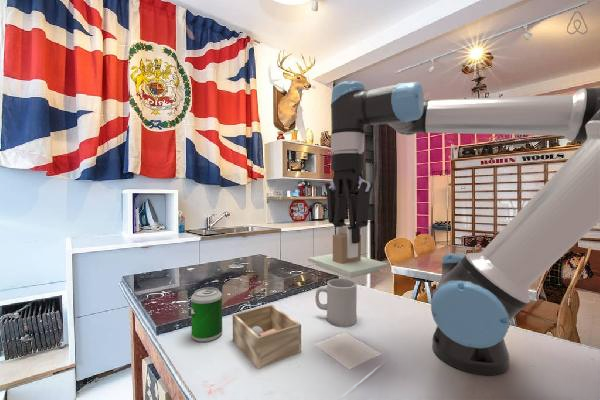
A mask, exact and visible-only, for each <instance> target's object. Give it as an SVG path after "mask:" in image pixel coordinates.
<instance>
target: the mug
mask: <svg viewBox="0 0 600 400" xmlns="http://www.w3.org/2000/svg"><path fill="white" fill-rule="evenodd" d="M357 285H358V284H357V282H356V281H355V280H352V279H348V278H333V279H329V280H328V281H327V283H326V286H325V285H324V286H323V285H321V286H319V287H318V288H317V289H316V291H315V305H316V306H317V308H318V309H320V310H323V311H326V320H327V322H328V323H329V324H330V325H333V326H335V327H341V328H344V327H345V328H348V327H352V326H353V325H355V324H356V323H357V320H358V319H357V315H358V314H357V297H358V296H357V293H358V292H357V291H358V290H357V289H358V288H357V287H358V286H357ZM320 293H326V296H327V297H326V302H327V303H321V302H320V298H319V297H320Z"/></svg>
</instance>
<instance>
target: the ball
mask: <svg viewBox="0 0 600 400" xmlns="http://www.w3.org/2000/svg"><path fill="white" fill-rule="evenodd" d="M252 330H253V331H254V332H255V333H256V334H257V335H258V336H259V334H261V333H264V332H263V330H262V328H261V327H258V326H255V327H253V328H252Z"/></svg>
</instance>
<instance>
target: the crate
mask: <svg viewBox="0 0 600 400" xmlns="http://www.w3.org/2000/svg"><path fill="white" fill-rule="evenodd" d="M255 326H258V327H261V328H262V330H263V332H266V331H268V330H271V329H275V330H277V331H275V332H272V333H269V334H265V335H262V336H258V335H257V334H256V333H255V332H254V331H253V330H252V328H253V327H255ZM232 341H233V342H234V344H235V345H236V346H237V347H238V348H239V349H240V350H241V351H242V352H243V354H244V355H245V356H246V357H247V358H248V359H249V361H251V362H252V364H253V365H254V366H255V367H256V368H257V369H261V368H264V367H266V366H269V365H271V364H274V363H277V362H279V361H282V360H284V359H286V358H287V359H288V358H289V357H292V356H295V355H297V354H300V353H302V324H301V323H300V322H298V321H297V320H296V319H294V318H292V317H290V316H289V315H288V314H286V313H285V312H283V311H282V310H280V309H279V308H278V307H276V306H275V305H273V304H269V305H264V306H261V307H260V306H259V307H257V308H253V309H249V310H244V311H241V312H237V313H233V314H232Z"/></svg>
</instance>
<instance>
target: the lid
mask: <svg viewBox="0 0 600 400" xmlns="http://www.w3.org/2000/svg"><path fill="white" fill-rule="evenodd" d="M361 247H362V234H360V242H359V243H358V257H354V258H347V234H339V235H335V234H332V253H329V254H322V255H317V256H311V257H309V256H308V257H307V260H308V262H310V263H313V264H315V265H316V266H317V267H319V268H322V269H325V270H327V271H330V272H334V273H335V274H339V275H341V276H345V277H347V278H350V279H353V278H357V277H360V276H364V275H365V276H366V275H369V274H374V273H377V272H380V270H383V269H388V268H389V266H390V265H389V263H387V262H383V261H379V260H377V259H372V258H369V257H365V256H362V252H361V251H362V250H361V249H362V248H361Z"/></svg>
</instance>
